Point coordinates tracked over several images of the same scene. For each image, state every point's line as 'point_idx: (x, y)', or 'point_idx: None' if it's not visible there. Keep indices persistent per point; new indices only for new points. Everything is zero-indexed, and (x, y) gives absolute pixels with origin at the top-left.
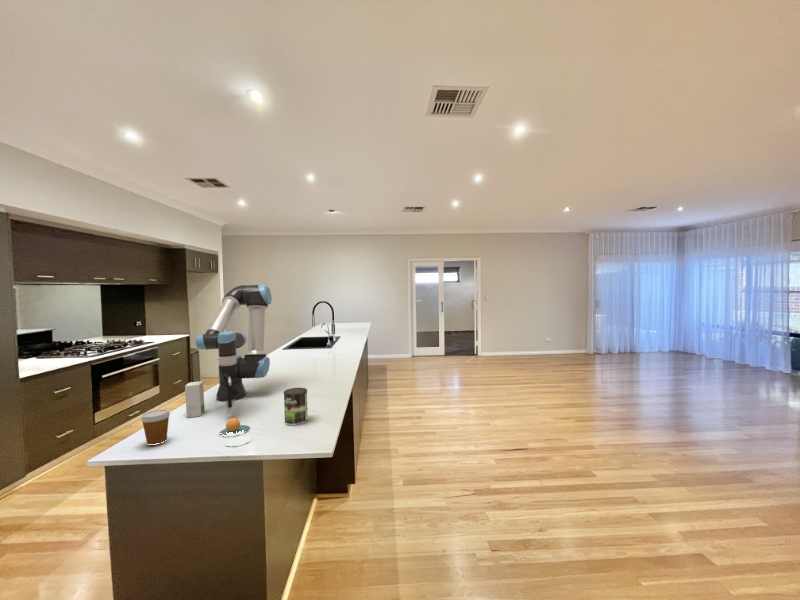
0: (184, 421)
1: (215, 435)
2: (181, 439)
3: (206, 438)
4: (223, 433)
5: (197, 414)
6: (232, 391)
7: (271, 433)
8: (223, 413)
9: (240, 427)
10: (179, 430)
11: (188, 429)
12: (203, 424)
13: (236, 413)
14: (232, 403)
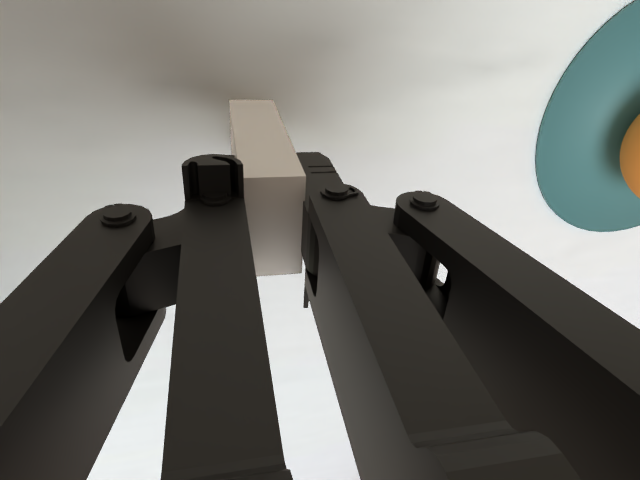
0: (120, 443)
1: (596, 249)
2: None
3: (592, 295)
4: (627, 204)
5: None
6: (603, 317)
7: None
8: (25, 178)
9: (636, 64)
10: (313, 435)
11: (333, 397)
12: (292, 329)
13: (110, 27)
14: (292, 156)
